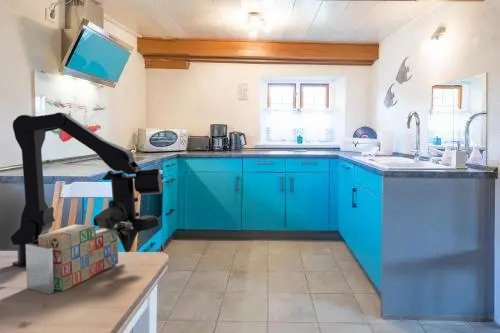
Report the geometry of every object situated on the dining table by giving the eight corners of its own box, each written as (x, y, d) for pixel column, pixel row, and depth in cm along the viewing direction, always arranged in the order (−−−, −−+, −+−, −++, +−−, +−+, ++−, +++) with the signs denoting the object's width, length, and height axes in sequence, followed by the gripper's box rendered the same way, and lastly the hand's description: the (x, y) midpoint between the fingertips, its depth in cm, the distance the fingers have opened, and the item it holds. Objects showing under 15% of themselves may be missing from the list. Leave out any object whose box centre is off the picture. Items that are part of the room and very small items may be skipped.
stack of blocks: (98, 261, 116) (97, 217, 115) (118, 263, 114) (117, 218, 113) (39, 289, 96) (37, 234, 95) (63, 291, 94) (60, 236, 93)
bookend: (26, 288, 96) (25, 244, 96) (31, 286, 97) (29, 243, 96) (49, 294, 92) (48, 248, 92) (53, 293, 93) (52, 247, 92)
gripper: (74, 199, 112) (80, 256, 114) (127, 202, 103) (132, 265, 105) (107, 192, 122) (111, 245, 124) (157, 194, 113) (161, 252, 115)
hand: (127, 251), depth 116 cm, fingers closed
